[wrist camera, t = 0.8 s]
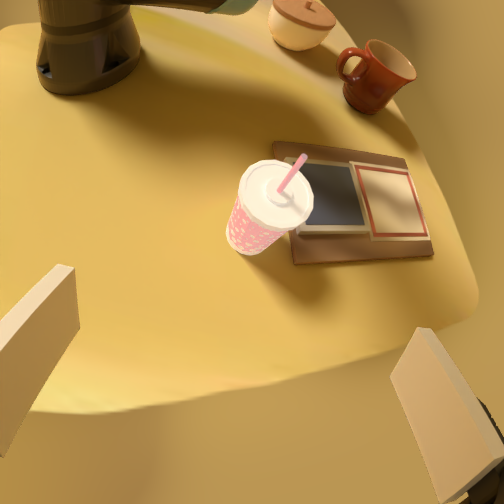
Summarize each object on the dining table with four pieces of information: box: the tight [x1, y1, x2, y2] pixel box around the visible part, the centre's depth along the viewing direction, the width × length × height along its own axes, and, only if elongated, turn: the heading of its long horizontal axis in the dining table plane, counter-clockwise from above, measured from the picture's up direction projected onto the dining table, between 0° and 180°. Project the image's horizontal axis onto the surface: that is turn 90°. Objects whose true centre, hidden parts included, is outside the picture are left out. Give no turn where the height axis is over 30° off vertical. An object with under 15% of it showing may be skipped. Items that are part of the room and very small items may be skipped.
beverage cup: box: [226, 153, 314, 255], centre depth 27 cm, size 6×6×14 cm
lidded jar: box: [268, 0, 336, 51], centre depth 43 cm, size 11×11×9 cm
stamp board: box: [273, 141, 434, 265], centre depth 38 cm, size 15×21×2 cm
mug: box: [336, 40, 417, 114], centre depth 41 cm, size 12×9×10 cm
